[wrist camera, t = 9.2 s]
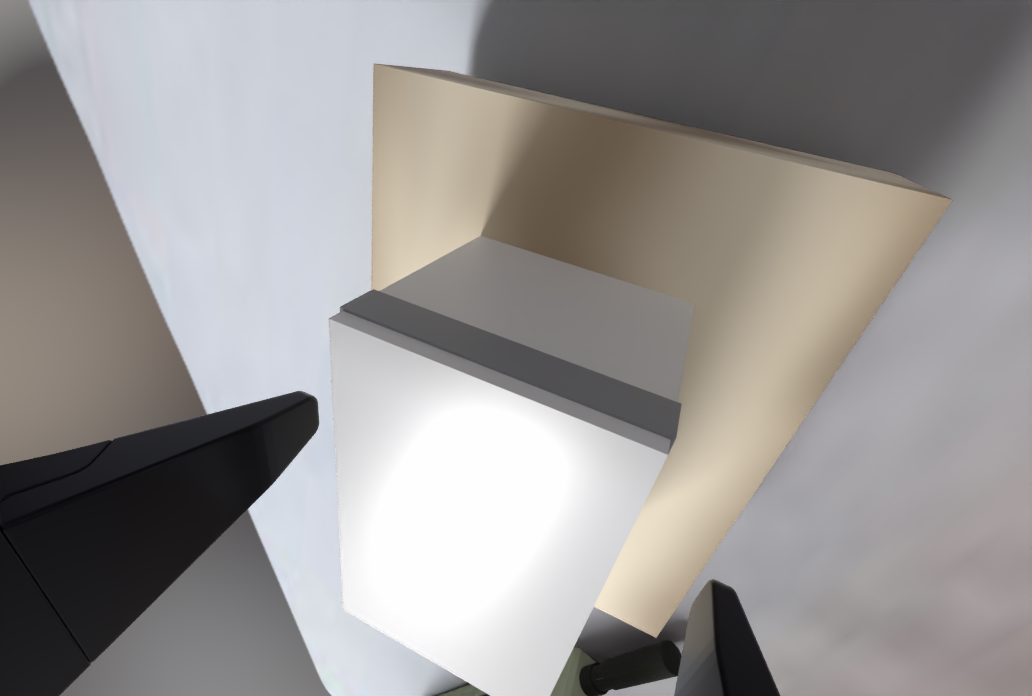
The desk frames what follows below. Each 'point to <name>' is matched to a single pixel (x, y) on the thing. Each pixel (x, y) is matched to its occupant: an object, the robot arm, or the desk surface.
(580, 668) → the handheld radio
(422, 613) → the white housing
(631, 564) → the cream rectangular block
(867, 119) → the desk surface
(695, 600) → the robot arm
